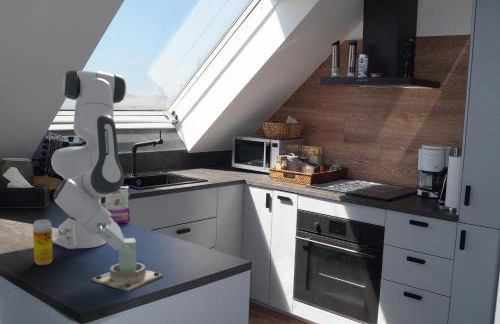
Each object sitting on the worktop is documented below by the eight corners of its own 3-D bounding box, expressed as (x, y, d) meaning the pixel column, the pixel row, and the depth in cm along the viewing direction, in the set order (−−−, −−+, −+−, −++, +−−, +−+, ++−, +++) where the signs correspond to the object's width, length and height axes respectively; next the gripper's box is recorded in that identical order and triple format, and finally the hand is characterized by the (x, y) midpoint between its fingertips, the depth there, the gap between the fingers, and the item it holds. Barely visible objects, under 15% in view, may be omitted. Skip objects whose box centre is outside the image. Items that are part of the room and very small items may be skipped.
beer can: (42, 266, 188) (41, 224, 186) (30, 263, 191) (29, 221, 189) (56, 261, 193) (55, 220, 191) (44, 259, 196) (43, 218, 194)
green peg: (120, 279, 174) (120, 243, 172) (119, 274, 179) (118, 239, 177) (136, 278, 175) (136, 242, 174) (134, 273, 180) (134, 238, 179)
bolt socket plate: (91, 280, 175) (91, 269, 174) (127, 267, 188) (127, 256, 188) (128, 291, 166) (127, 279, 166) (163, 276, 180) (162, 265, 179)
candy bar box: (129, 220, 255) (129, 185, 253) (129, 222, 250) (129, 187, 248) (105, 221, 253) (104, 186, 250) (104, 223, 248) (104, 188, 246)
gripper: (106, 221, 162) (140, 250, 167) (103, 206, 182) (133, 233, 186) (91, 236, 161) (125, 265, 166) (89, 220, 181) (120, 246, 185)
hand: (129, 248), depth 176 cm, fingers open, 8 cm apart
